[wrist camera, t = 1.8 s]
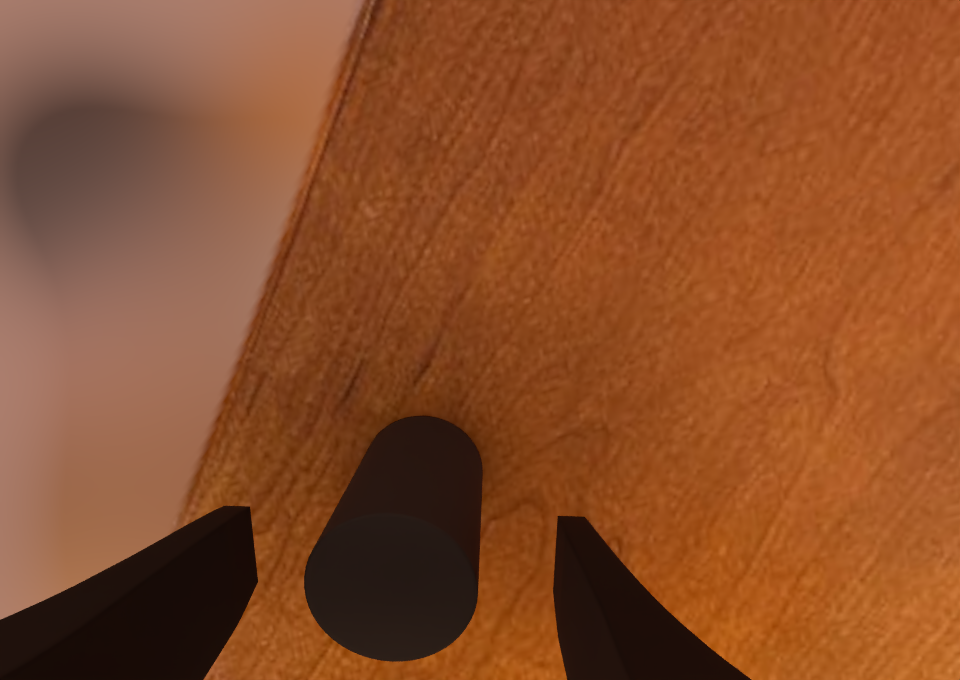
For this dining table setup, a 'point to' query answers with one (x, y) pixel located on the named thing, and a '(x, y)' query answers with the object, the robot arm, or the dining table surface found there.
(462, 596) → the stopper
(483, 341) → the dining table surface
